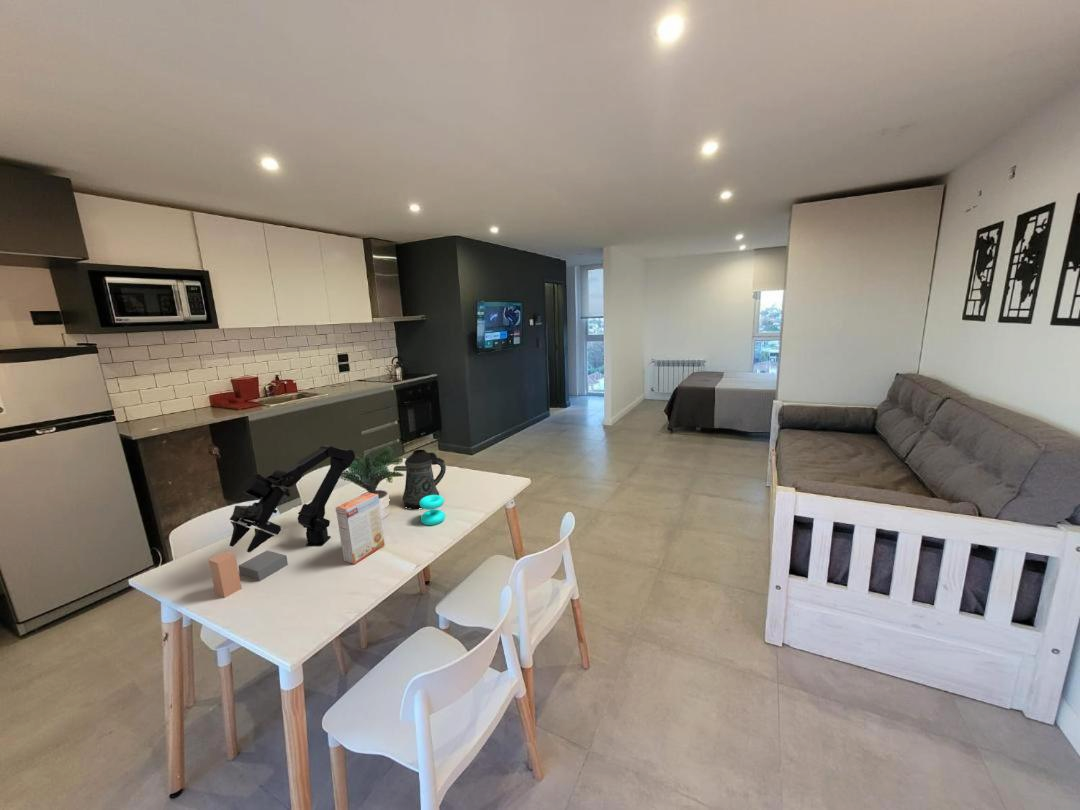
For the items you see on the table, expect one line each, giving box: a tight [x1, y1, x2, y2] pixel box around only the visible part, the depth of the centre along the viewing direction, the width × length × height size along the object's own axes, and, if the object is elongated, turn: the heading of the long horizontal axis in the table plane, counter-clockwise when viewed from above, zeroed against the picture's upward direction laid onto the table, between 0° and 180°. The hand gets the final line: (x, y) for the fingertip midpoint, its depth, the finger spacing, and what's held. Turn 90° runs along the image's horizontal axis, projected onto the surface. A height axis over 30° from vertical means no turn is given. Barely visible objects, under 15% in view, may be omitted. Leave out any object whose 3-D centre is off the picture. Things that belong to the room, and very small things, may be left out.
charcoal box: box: [237, 550, 289, 582], centre depth 143 cm, size 10×10×4 cm
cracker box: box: [335, 492, 386, 565], centre depth 150 cm, size 14×6×21 cm, turn 153°
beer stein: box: [401, 449, 447, 510], centre depth 192 cm, size 16×19×25 cm
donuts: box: [419, 494, 446, 526], centre depth 175 cm, size 10×10×10 cm
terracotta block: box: [208, 551, 242, 599], centre depth 131 cm, size 5×5×12 cm
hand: (239, 549), depth 135 cm, fingers open, 9 cm apart
